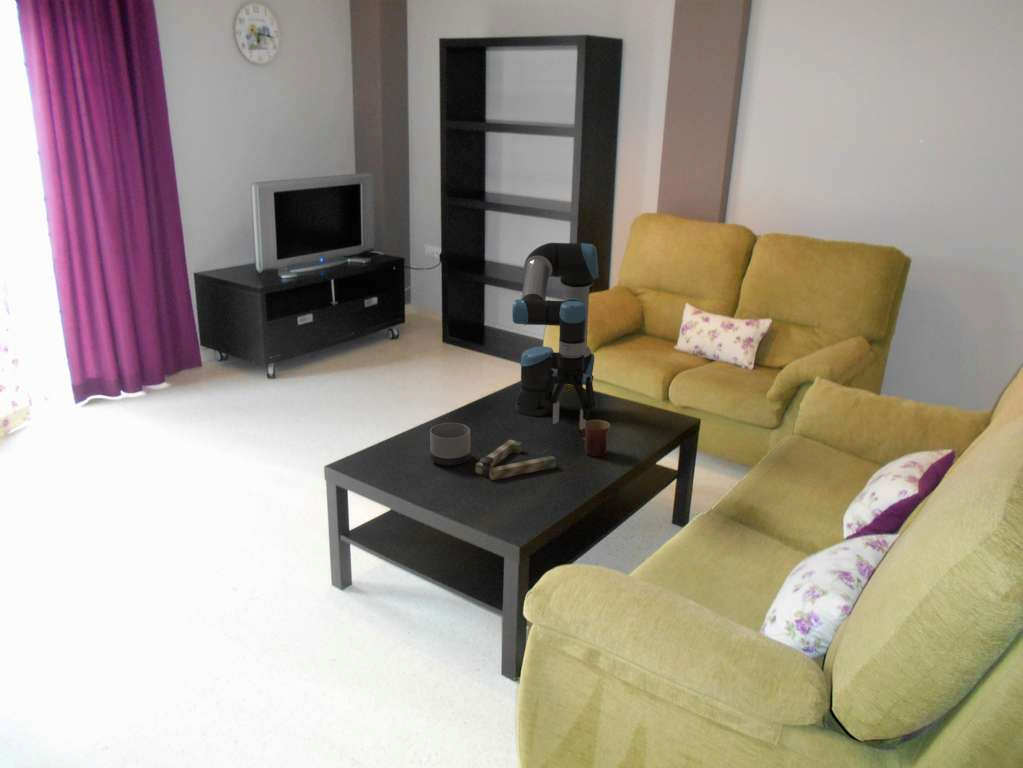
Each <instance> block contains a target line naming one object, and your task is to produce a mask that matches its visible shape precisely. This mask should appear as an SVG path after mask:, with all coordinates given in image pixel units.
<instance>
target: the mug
mask: <svg viewBox="0 0 1023 768" xmlns="http://www.w3.org/2000/svg"><path fill="white" fill-rule="evenodd" d="M611 426H612V425H611V424H610V423H609V422H608V421H606V420H603V419H589V420H588V419H587V420H586V427H585V428H584V432H585V435H584V433H583V429H582V430H580V421H579V422H578V423H577V433H578V436H579V437H580V438H581V439H582V441H584V452H585V454H587V455H588V456H589V457H593V458H598V457H599V458H600V457H603V456H605V455H606V454H607V451H608V443H609V442H608V441H609V440H608V438H609V431H610V429H611Z"/></svg>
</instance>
